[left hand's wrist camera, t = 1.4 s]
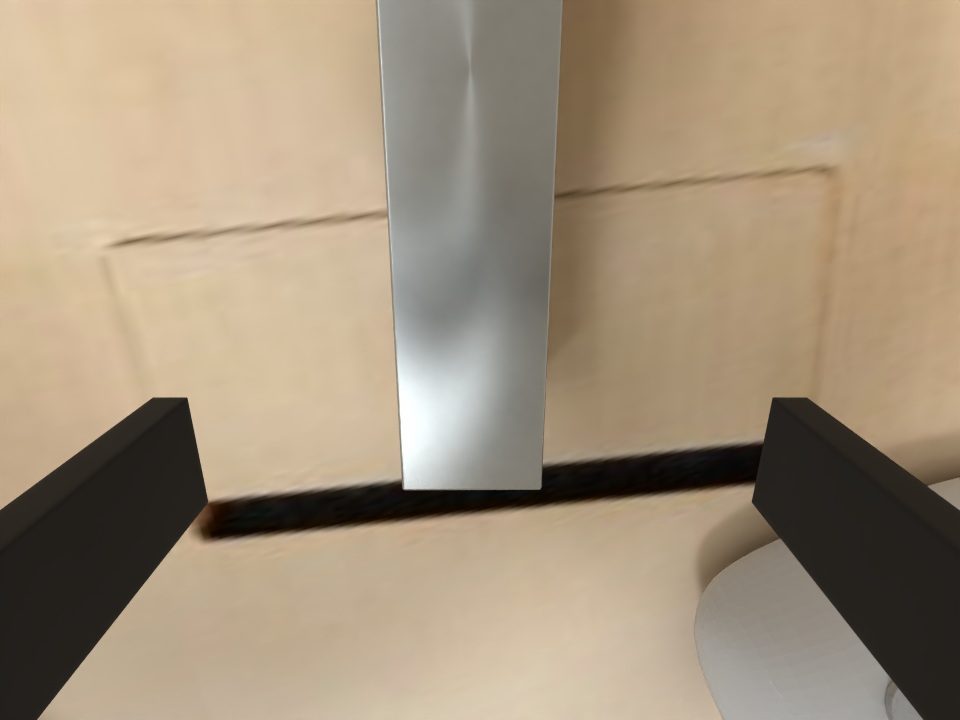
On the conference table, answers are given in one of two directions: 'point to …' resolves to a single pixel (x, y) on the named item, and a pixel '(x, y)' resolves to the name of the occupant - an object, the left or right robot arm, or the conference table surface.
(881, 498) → the left robot arm
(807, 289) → the conference table surface
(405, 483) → the bar
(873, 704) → the projector
